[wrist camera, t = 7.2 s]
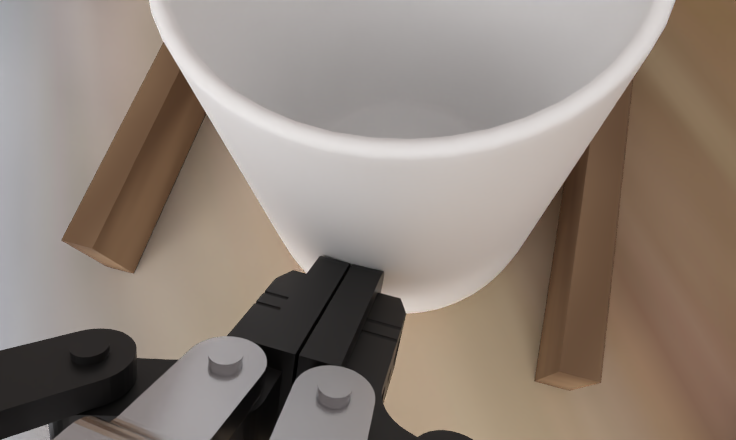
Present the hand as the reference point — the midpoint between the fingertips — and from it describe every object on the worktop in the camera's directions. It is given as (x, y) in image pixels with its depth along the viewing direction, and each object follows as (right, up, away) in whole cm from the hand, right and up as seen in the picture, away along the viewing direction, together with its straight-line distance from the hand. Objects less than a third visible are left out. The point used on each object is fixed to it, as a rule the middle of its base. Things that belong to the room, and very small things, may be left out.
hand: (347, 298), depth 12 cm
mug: (+2, +4, +6) cm, 8 cm away
